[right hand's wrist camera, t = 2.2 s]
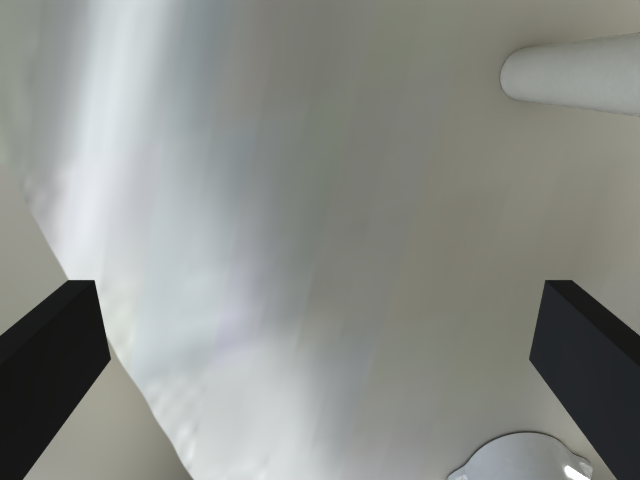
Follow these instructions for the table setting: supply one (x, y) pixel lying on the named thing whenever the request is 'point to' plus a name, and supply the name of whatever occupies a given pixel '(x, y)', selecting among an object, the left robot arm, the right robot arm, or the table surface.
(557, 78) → the bottle
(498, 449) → the left robot arm
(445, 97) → the table surface
